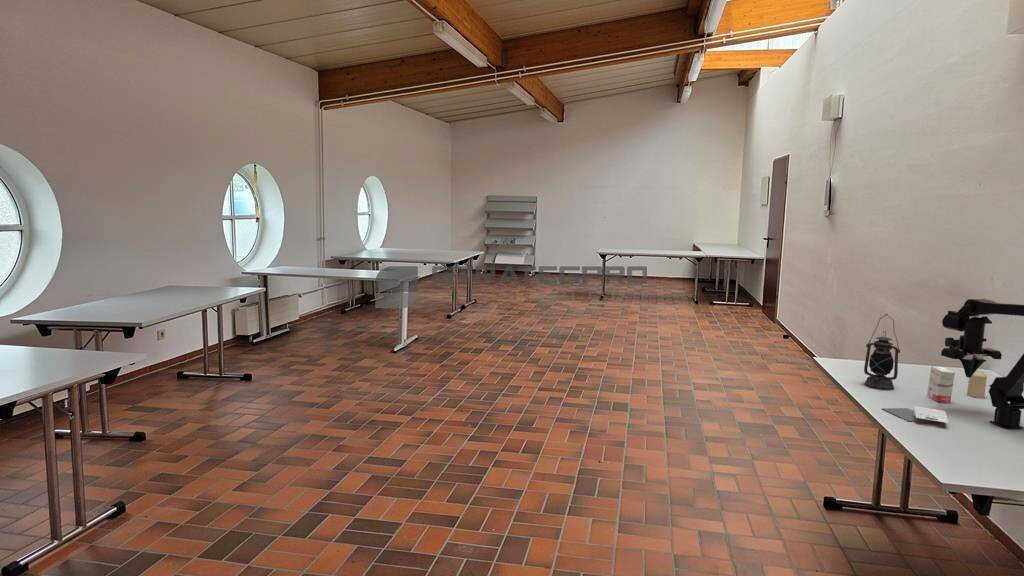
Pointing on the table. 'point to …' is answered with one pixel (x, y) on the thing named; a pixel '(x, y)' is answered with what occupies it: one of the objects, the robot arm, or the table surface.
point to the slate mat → (905, 414)
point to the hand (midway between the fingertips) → (968, 377)
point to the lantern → (881, 363)
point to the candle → (977, 384)
